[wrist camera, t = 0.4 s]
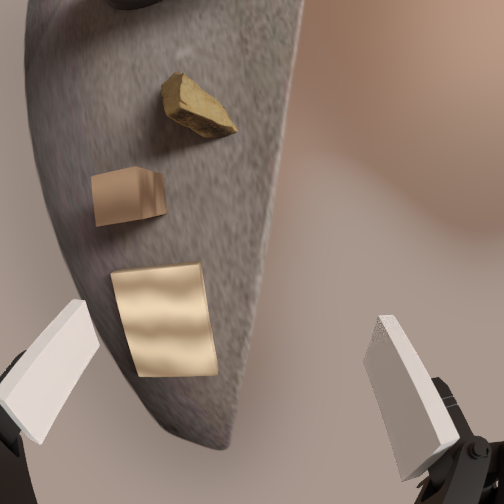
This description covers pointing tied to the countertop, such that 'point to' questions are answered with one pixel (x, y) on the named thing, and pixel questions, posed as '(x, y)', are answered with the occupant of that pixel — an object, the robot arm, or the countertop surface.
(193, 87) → the rock
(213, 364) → the cutting board
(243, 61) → the countertop surface
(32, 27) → the countertop surface
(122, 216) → the walnut block
